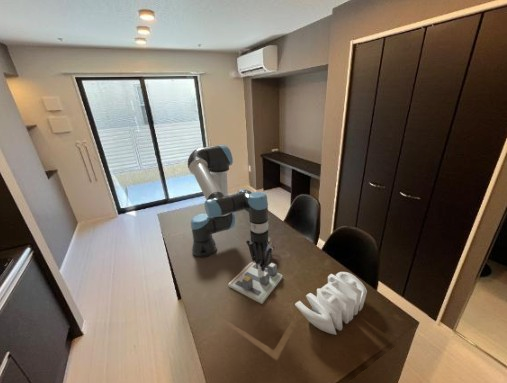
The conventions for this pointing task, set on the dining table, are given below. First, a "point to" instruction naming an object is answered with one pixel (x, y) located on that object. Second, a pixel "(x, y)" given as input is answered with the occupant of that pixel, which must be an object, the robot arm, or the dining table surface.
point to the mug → (270, 244)
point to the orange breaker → (247, 283)
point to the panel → (257, 281)
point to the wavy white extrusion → (335, 302)
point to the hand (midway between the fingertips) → (261, 275)
